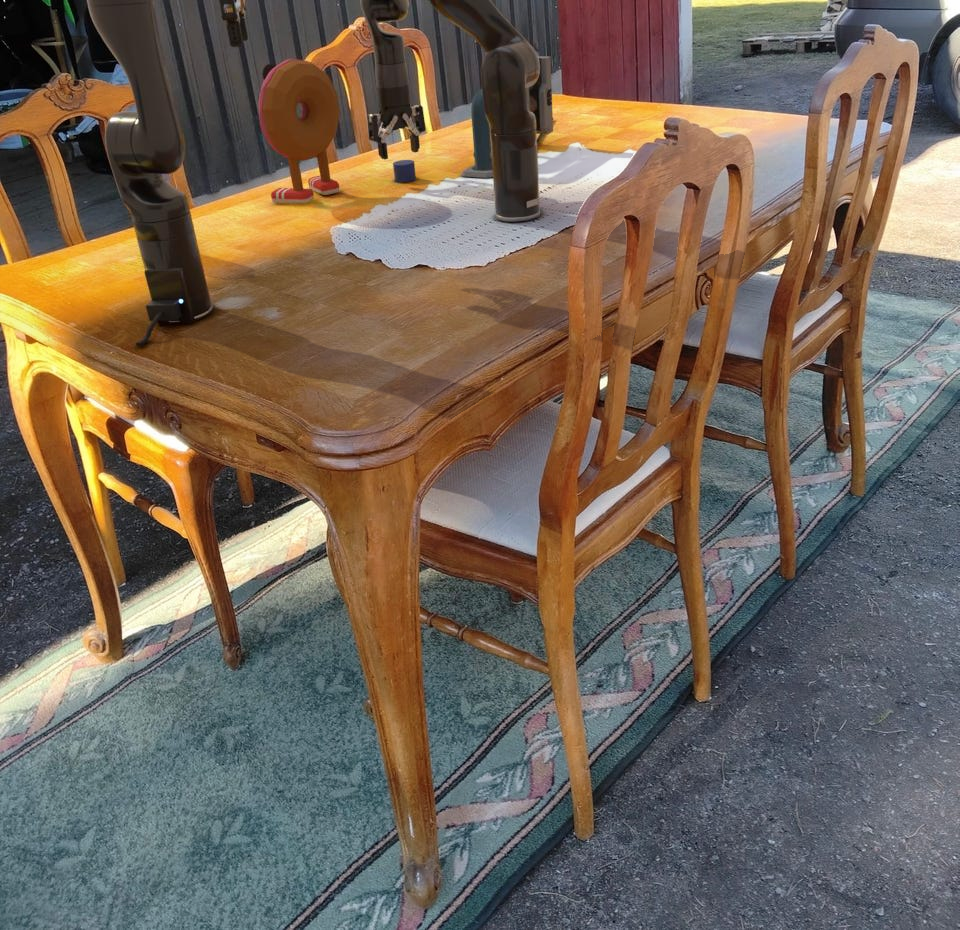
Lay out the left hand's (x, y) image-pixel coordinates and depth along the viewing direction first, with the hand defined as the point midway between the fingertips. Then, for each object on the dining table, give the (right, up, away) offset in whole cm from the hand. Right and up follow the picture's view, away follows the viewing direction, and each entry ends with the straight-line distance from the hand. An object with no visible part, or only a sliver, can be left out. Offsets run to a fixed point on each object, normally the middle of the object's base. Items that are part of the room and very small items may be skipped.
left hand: (239, 43), depth 173 cm
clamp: (+50, +1, +70) cm, 86 cm away
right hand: (+24, -2, +57) cm, 62 cm away
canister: (+25, -7, +60) cm, 66 cm away
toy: (+3, -13, +53) cm, 55 cm away
